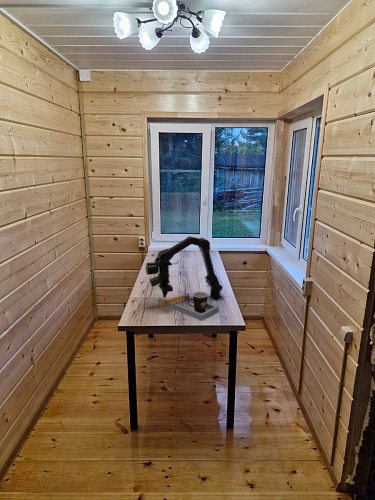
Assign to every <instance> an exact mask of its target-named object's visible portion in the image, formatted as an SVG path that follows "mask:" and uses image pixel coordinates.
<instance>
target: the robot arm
mask: <svg viewBox="0 0 375 500" xmlns="http://www.w3.org/2000/svg"><path fill="white" fill-rule="evenodd" d="M191 245H193V246H197V247H198V250H200V252H201V254H202V258H203V263H204V266H205V270H206V275H205V276H204V278H205V283H206V284H207V285H208V286H209V287H210V292H209V293H210V295H208V298H209V299H212V300H215V301H217V300H220V299H221V298H223V296H222V295H221V293H222V292H221V291H222V290H223V286H222V285H221V284H220V280H219V278H218V277H217V275H216V273H215V269H214V265H213V263H212V257H211V253H210V251H211V243H210V241H209V240H208V239H206V238H205V237H200V238H198V237H194V236H190V235H189V236H187V237H186V238H184V239H183V240H181V241H179V242H178V243H176V244H175V245H173V246H171V247H170V248H165V249H162V250H160V251H159V252H158V254H157V256H156V258H155V259H154V262H146V265H145V273H146V275H147V276H148V275H157V276H155V277H152V278H150V279H149V280H148V281H149V283H150V285H151V287H152V288H153V287H155V286H157V285H158V287H159V290H161V292H162V296H163V299H164V298H166V297H167V295H168V293H169V292H170V293H171V292H173V291H174V289H173V288H174V287H173V285H172V284H171V283H170V282H171V281H170V277H171V276H170V266H173V263H172V262H171V260H172V259H173V257H174V256H175V255H176V254H178V253H180V252H181V251H182V250H185V249H186V248H187V247H190V246H191Z"/></svg>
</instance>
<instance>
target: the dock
mask: <svg viewBox="0 0 375 500" xmlns="http://www.w3.org/2000/svg"><path fill="white" fill-rule="evenodd" d="M191 298H192V299H193V296H191V295H189V299H191ZM189 299H183V301H184V302H188V300H189ZM189 303H192V304H194V301H193V300H190V301H189ZM172 309H174V310H176V311H178V312H180V313H182V314H185V315H188V316H189V317H192V318H194V319H197V320H199V321H204V320H206V319H208V318H209V317H211V316H213V315H215V314H217V313H218V312H219V311H220V310H219V309H220V306H217V305H216V304H212V303H210V302H208V301H207V305H206V312H204V313H198V312H196V311H195V310H193V309H191V308H188V307H186V306H183V305H182V304H178V303H176V302H173V303H172Z"/></svg>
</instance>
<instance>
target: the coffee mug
mask: <svg viewBox="0 0 375 500" xmlns="http://www.w3.org/2000/svg"><path fill="white" fill-rule="evenodd" d="M192 297H193V299H192V298H191V299H189V300H188V301H187V304H188V305H189V306H190V307H192V308H194V311H196V312H198V313H201V314H202V313H204V312H206V311H207V308H206V305H207V302H208V298H209V294H208V292H206V291H205V292H204V291H194V293H192ZM190 300H193V301H194V303H193V305H191V304H190V302H189V301H190Z"/></svg>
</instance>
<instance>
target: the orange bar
mask: <svg viewBox="0 0 375 500" xmlns="http://www.w3.org/2000/svg"><path fill="white" fill-rule="evenodd" d="M189 296H190V293H185V294H182V295H179V296H175V297H172V298H171V297H170V298H168V299H165V300H161V301H159V305H160V306H161V307H163V306H166V305H169V304H174V303H176V302H179V301H184V299H189Z"/></svg>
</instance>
